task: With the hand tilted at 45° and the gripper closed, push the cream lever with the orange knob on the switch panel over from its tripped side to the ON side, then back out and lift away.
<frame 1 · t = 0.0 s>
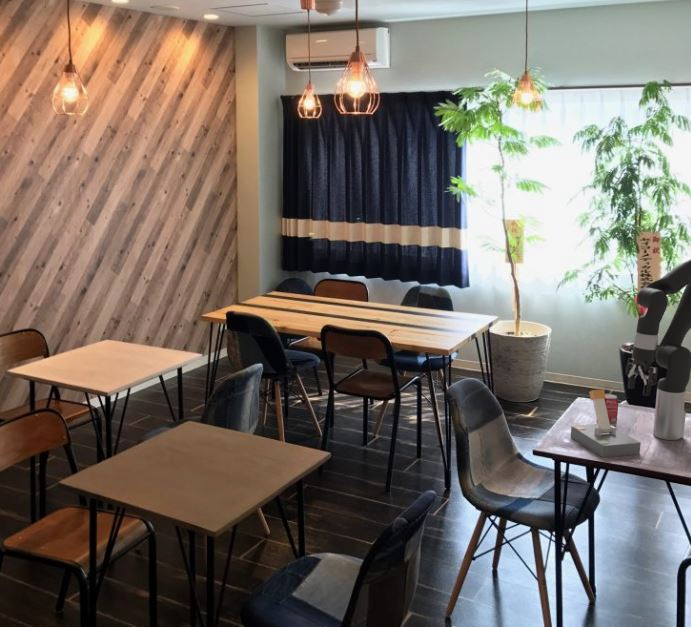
hand: (638, 391, 278), 17 cm above the table, tool pointing down, fingers open, 8 cm apart
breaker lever: (601, 411, 276), point 11 cm above the table, hinge at 30.0°
switch panel: (604, 445, 275), on the table
soda can: (606, 428, 293), on the table
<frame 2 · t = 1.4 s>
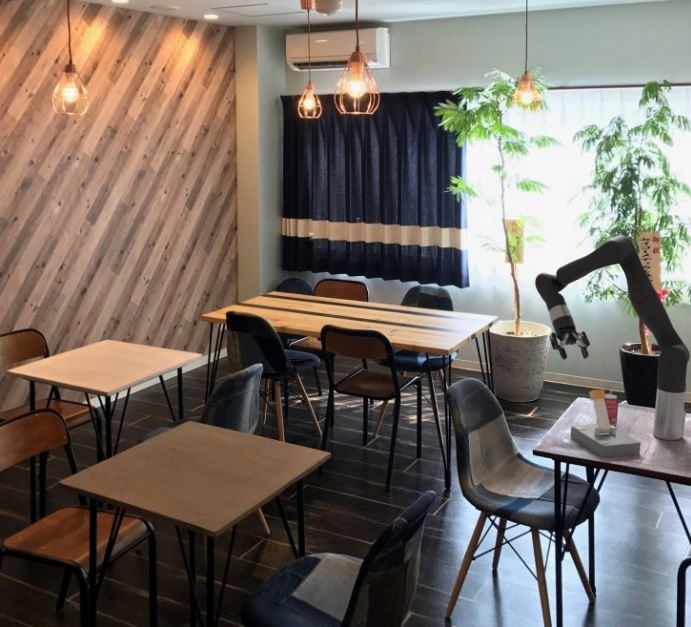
hand: (575, 358, 290), 25 cm above the table, tool tilted 45°, fingers open, 8 cm apart
nothing on the table moved.
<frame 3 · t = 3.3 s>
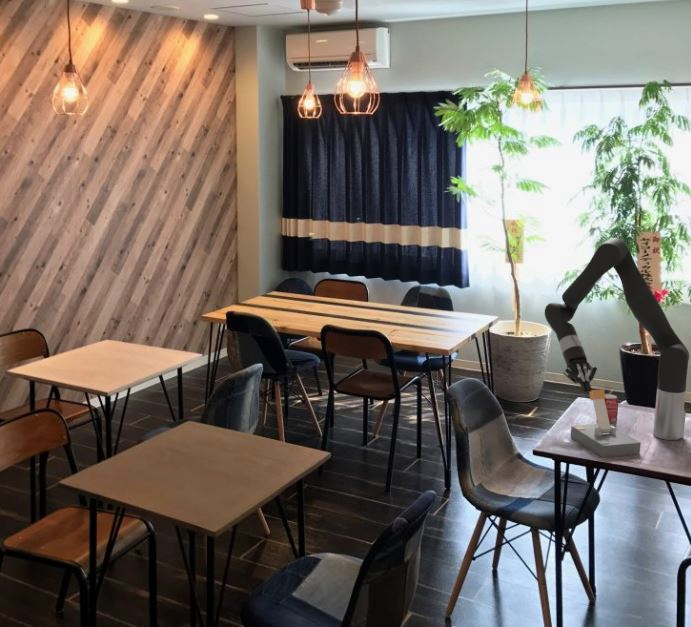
hand: (588, 392, 283), 15 cm above the table, tool tilted 45°, fingers closed
nothing on the table moved.
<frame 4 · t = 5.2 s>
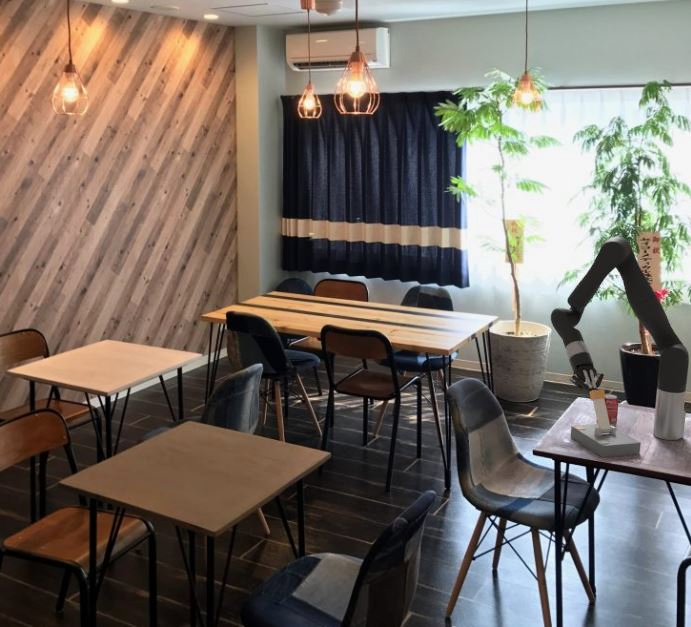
hand: (595, 399, 279), 14 cm above the table, tool tilted 45°, fingers closed
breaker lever: (601, 411, 276), point 11 cm above the table, hinge at 30.0°, touching gripper
everything else where it was.
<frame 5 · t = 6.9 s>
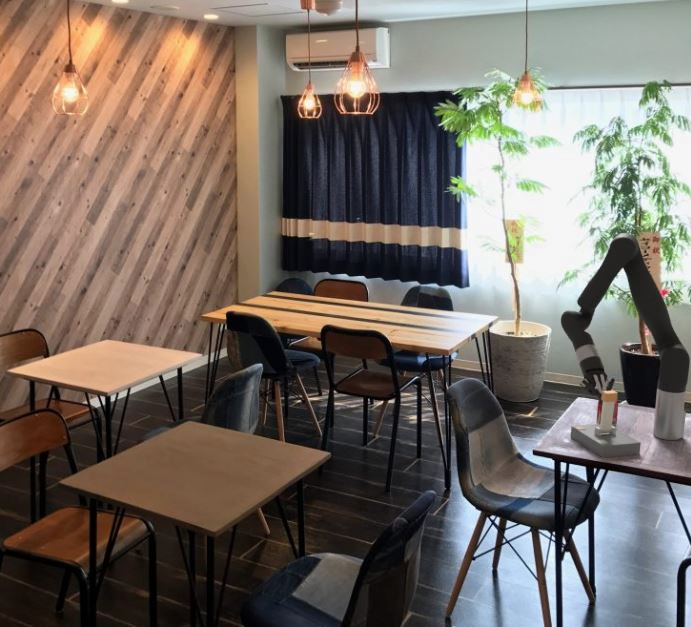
hand: (605, 404, 273), 14 cm above the table, tool tilted 45°, fingers closed
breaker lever: (607, 412, 272), point 12 cm above the table, hinge at -3.6°, touching gripper
everything else where it was.
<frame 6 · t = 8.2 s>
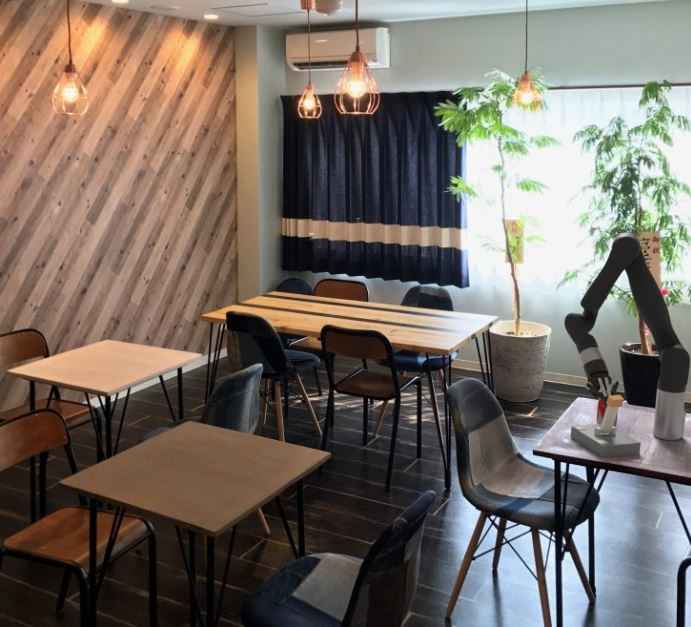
hand: (610, 408, 270), 14 cm above the table, tool tilted 45°, fingers closed
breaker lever: (610, 415, 271), point 11 cm above the table, hinge at -19.5°, touching gripper
everything else where it was.
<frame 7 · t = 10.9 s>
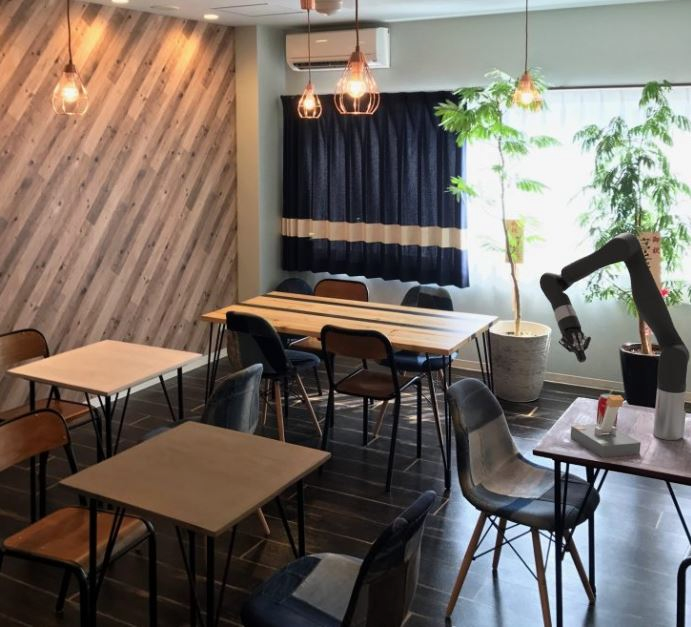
hand: (582, 361, 287), 25 cm above the table, tool tilted 45°, fingers closed
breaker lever: (610, 415, 271), point 11 cm above the table, hinge at -19.6°
everything else where it was.
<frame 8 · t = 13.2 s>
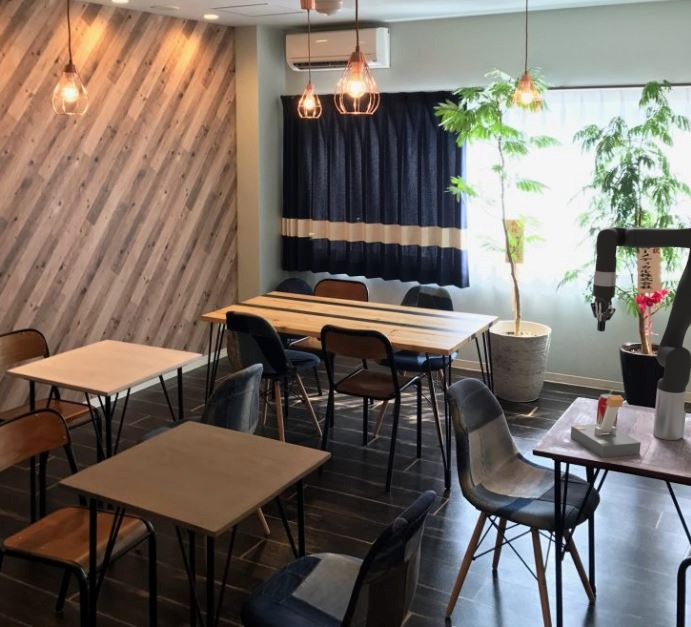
hand: (600, 330, 290), 35 cm above the table, tool pointing down, fingers closed
nothing on the table moved.
at the end: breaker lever at -20° (first picture: +30°); soda can moved 0.2 cm from its start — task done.
